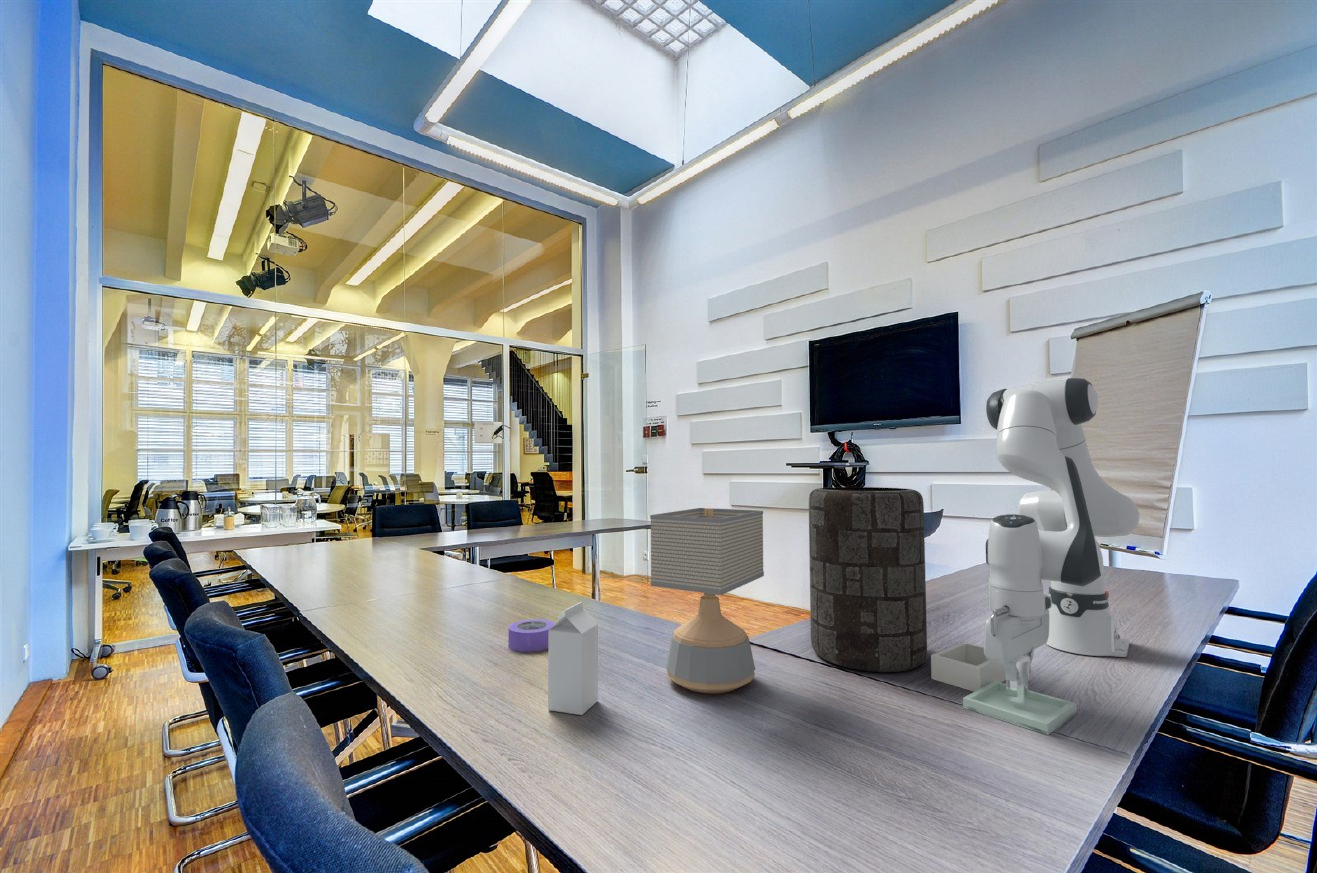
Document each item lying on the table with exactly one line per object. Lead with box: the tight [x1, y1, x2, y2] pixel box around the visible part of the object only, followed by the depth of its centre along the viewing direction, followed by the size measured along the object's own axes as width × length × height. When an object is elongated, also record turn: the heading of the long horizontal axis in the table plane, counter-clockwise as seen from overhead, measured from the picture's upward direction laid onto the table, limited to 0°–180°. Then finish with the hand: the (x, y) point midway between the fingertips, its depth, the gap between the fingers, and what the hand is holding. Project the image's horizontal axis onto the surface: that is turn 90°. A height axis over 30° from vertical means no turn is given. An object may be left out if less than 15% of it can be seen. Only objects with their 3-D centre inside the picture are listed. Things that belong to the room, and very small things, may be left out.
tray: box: [962, 681, 1078, 736], centre depth 108 cm, size 14×14×2 cm
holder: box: [930, 641, 1006, 693], centre depth 124 cm, size 15×10×5 cm, turn 127°
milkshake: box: [1003, 647, 1034, 703], centre depth 108 cm, size 5×5×10 cm
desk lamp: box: [649, 507, 765, 695], centre depth 123 cm, size 22×19×37 cm
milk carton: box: [547, 601, 599, 716], centre depth 111 cm, size 7×7×19 cm
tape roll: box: [507, 618, 556, 653], centre depth 148 cm, size 12×12×5 cm
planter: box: [808, 486, 928, 673], centre depth 140 cm, size 26×26×40 cm
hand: (1018, 676), depth 108 cm, fingers closed on milkshake, 4 cm apart
